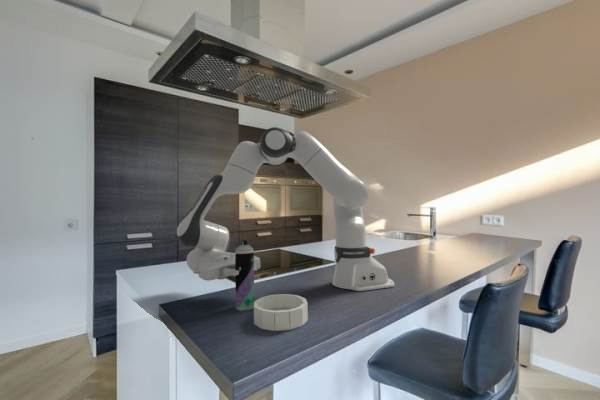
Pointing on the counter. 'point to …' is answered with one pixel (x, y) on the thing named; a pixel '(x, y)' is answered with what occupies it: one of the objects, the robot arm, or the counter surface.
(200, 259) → the robot arm
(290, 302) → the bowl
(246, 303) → the spray can
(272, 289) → the counter surface
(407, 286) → the counter surface
